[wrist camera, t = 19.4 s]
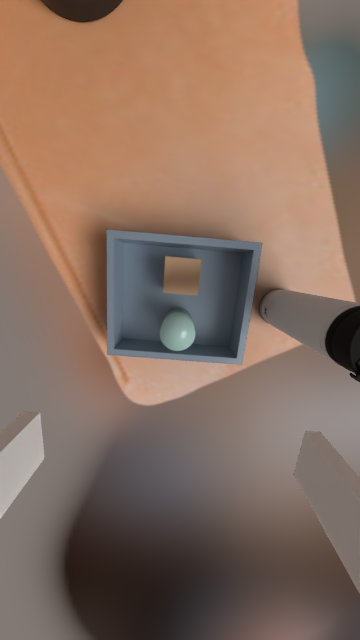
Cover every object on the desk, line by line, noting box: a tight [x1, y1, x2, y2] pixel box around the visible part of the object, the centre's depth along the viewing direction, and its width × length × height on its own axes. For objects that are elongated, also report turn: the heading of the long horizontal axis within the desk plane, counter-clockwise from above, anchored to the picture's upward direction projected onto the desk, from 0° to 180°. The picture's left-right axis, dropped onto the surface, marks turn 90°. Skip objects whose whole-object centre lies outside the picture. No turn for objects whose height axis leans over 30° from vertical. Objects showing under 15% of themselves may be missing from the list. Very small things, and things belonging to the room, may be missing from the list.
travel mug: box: [259, 289, 360, 382], centre depth 26 cm, size 6×7×20 cm
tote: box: [107, 230, 262, 365], centre depth 32 cm, size 18×21×6 cm
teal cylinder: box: [160, 308, 195, 351], centre depth 32 cm, size 5×5×7 cm
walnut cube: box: [163, 256, 202, 296], centre depth 31 cm, size 5×5×5 cm
